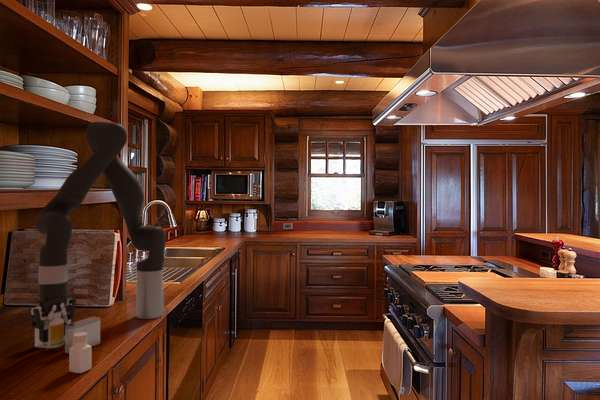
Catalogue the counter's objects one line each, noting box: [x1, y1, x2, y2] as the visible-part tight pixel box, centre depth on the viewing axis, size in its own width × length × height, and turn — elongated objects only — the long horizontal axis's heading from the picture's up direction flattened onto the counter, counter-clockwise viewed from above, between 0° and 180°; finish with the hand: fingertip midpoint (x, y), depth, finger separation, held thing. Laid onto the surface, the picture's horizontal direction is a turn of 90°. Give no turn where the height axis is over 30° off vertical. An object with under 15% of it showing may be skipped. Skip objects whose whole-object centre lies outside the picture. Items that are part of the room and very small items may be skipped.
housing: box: [34, 312, 101, 354], centre depth 136 cm, size 10×15×8 cm, turn 69°
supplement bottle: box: [43, 311, 65, 349], centre depth 131 cm, size 5×5×10 cm
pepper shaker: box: [68, 332, 92, 374], centre depth 117 cm, size 4×4×10 cm
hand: (53, 338), depth 131 cm, fingers closed on supplement bottle, 5 cm apart
